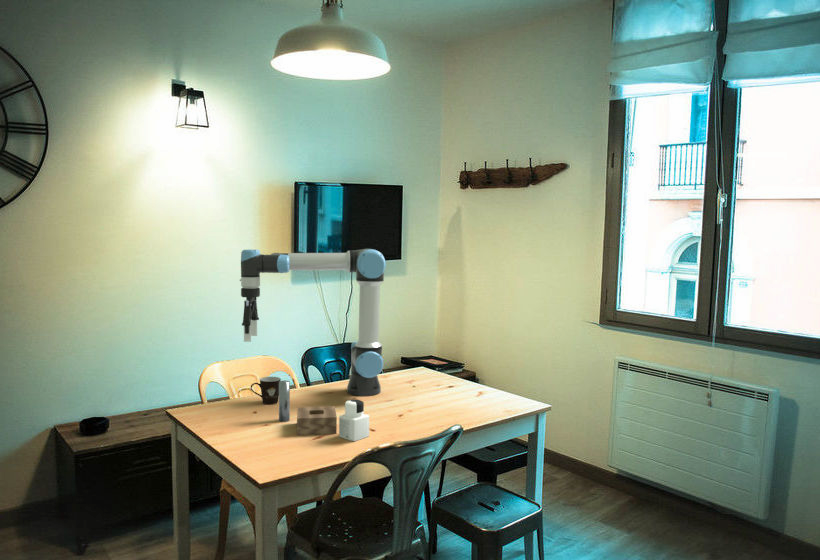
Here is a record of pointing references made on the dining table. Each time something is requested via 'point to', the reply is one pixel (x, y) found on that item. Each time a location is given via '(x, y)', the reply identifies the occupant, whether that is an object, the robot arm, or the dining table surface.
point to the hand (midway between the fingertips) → (250, 338)
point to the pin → (284, 401)
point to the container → (354, 421)
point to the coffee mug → (269, 389)
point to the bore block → (316, 420)
